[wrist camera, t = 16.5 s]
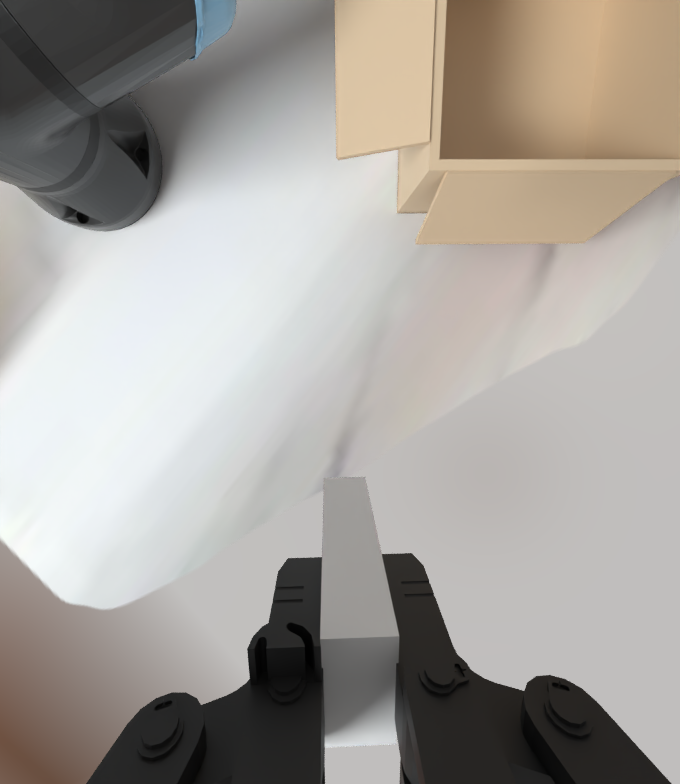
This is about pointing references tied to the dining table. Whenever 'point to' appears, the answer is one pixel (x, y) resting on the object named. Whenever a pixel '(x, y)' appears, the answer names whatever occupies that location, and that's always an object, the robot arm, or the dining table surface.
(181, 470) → the dining table surface
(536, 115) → the carton
